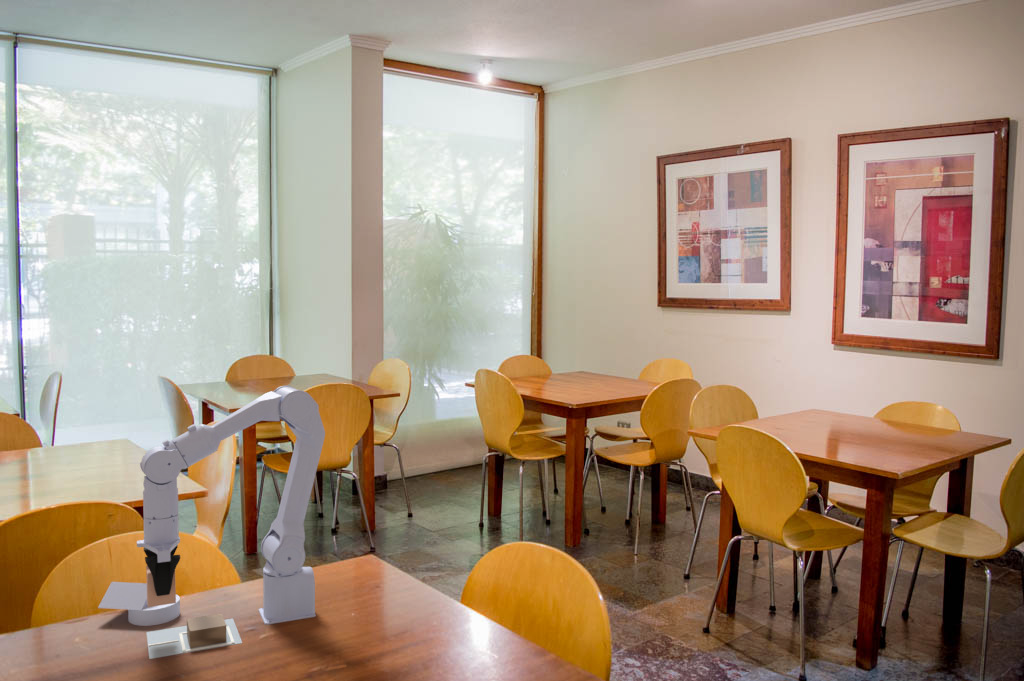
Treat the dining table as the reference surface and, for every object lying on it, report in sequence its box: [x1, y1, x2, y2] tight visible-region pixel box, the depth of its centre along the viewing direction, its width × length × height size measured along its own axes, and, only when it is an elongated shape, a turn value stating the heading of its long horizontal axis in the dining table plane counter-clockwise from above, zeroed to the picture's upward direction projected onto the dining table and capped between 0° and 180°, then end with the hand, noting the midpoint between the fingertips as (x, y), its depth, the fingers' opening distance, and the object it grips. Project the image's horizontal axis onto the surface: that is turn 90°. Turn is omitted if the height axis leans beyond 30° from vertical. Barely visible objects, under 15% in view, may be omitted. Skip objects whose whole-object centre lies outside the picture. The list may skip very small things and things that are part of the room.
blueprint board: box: [145, 618, 243, 660], centre depth 145 cm, size 15×12×1 cm
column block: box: [145, 565, 177, 607], centre depth 145 cm, size 4×4×6 cm
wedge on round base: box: [97, 581, 181, 627], centre depth 155 cm, size 9×7×13 cm
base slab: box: [186, 613, 226, 648], centre depth 145 cm, size 6×6×3 cm
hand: (162, 590), depth 145 cm, fingers closed on column block, 4 cm apart
